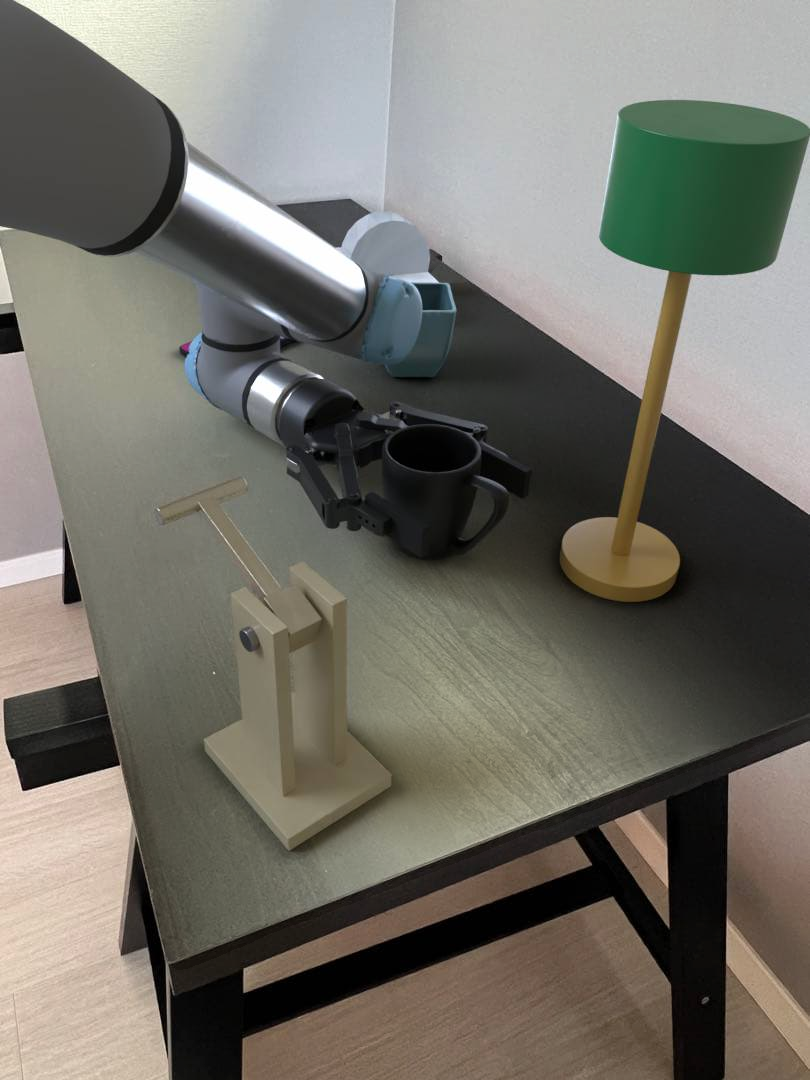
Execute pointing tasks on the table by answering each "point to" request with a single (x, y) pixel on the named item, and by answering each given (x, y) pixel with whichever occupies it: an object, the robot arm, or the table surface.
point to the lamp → (680, 279)
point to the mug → (438, 484)
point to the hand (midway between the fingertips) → (479, 512)
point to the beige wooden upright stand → (295, 719)
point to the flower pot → (430, 333)
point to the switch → (246, 558)
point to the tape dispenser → (389, 247)
